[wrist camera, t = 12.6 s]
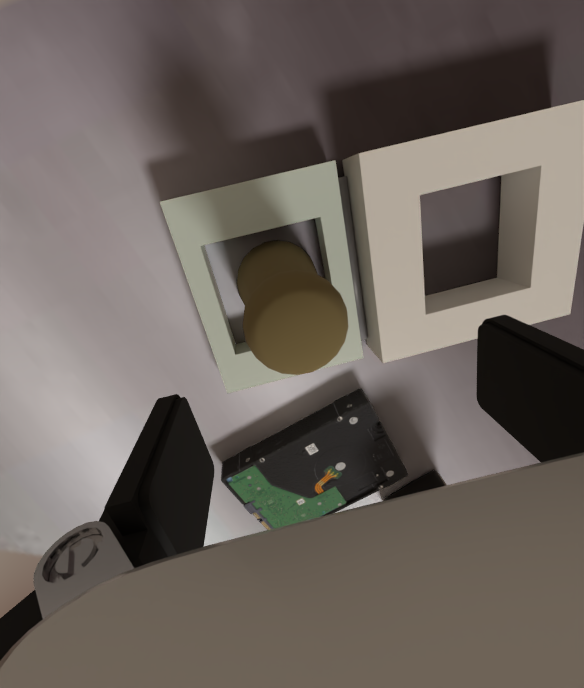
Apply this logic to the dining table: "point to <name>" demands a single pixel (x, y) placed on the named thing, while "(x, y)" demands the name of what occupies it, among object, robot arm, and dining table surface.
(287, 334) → the cork
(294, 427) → the disk drive
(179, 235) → the green square frame
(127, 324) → the dining table surface
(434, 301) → the beige square frame
